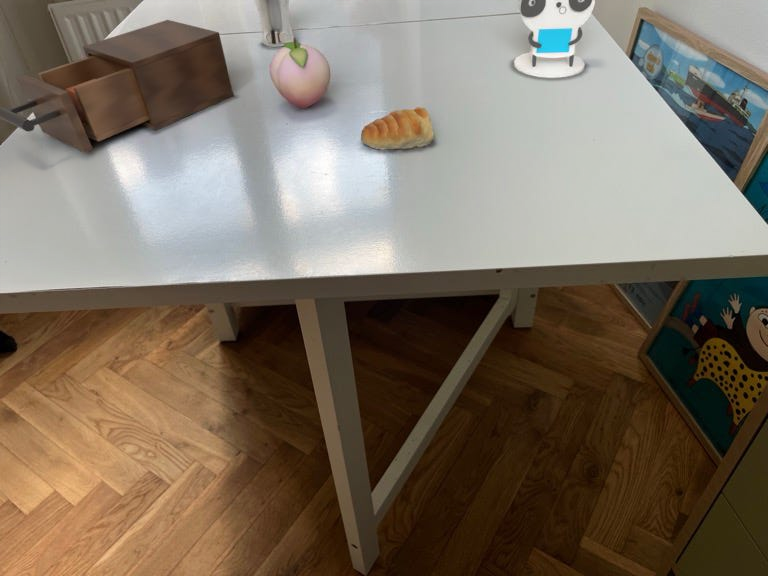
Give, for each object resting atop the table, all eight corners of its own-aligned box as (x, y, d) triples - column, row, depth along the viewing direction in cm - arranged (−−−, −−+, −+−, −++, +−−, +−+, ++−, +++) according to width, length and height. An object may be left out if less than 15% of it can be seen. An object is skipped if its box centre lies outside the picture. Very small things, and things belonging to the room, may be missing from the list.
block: (95, 126, 76) (82, 95, 74) (78, 119, 79) (65, 88, 76) (123, 115, 79) (111, 84, 76) (106, 108, 81) (94, 78, 78)
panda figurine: (512, 77, 89) (523, -28, 79) (508, 53, 97) (518, -45, 87) (589, 77, 87) (611, -30, 77) (578, 52, 96) (597, -47, 86)
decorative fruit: (344, 111, 82) (337, 41, 75) (292, 125, 79) (281, 53, 72) (318, 91, 88) (310, 24, 81) (269, 103, 85) (257, 34, 78)
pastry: (369, 158, 71) (368, 130, 68) (355, 136, 75) (353, 109, 73) (438, 144, 73) (438, 117, 70) (419, 124, 77) (419, 97, 75)
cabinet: (155, 130, 79) (132, 62, 73) (107, 110, 85) (82, 46, 79) (233, 95, 88) (219, 32, 81) (184, 80, 94) (167, 19, 87)
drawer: (49, 168, 70) (19, 109, 65) (7, 145, 76) (-23, 89, 71) (169, 115, 81) (152, 61, 76) (125, 98, 86) (107, 47, 81)
